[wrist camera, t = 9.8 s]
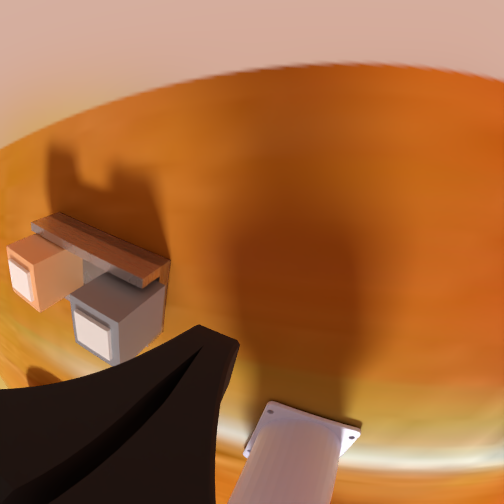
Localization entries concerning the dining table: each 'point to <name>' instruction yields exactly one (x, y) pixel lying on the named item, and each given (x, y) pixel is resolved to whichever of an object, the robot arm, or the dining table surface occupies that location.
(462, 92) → the dining table surface
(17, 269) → the block
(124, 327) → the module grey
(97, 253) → the rail
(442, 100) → the dining table surface
